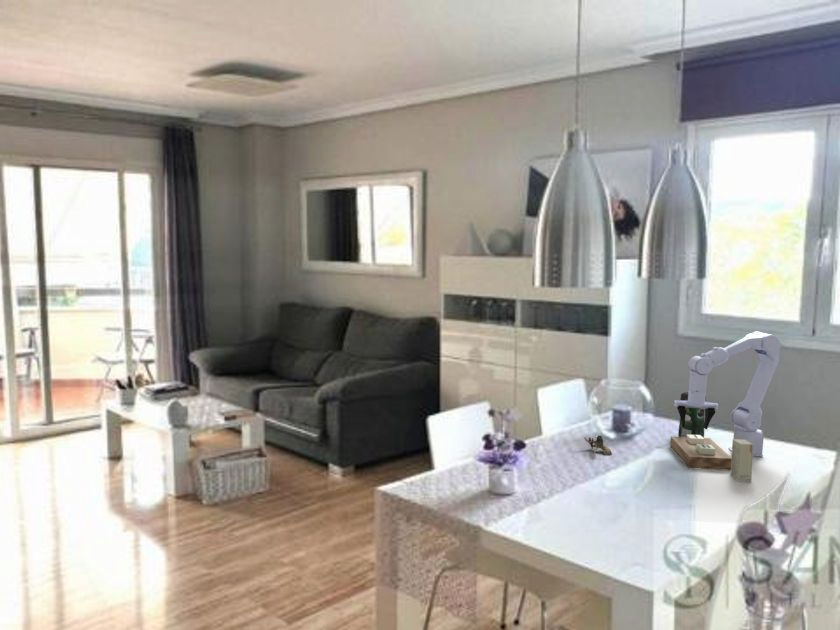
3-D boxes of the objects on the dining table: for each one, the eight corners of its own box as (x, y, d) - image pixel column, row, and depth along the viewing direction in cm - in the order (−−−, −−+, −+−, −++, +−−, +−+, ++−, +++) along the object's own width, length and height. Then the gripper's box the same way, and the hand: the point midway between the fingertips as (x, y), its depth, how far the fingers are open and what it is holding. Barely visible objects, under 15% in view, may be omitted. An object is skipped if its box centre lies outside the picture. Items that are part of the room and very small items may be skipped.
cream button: (699, 443, 255) (700, 434, 255) (703, 447, 251) (704, 438, 250) (686, 443, 256) (686, 433, 255) (689, 447, 251) (690, 437, 251)
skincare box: (751, 482, 224) (754, 444, 223) (738, 481, 224) (740, 444, 223) (743, 475, 230) (745, 438, 229) (729, 475, 230) (732, 438, 229)
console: (709, 448, 259) (709, 438, 258) (731, 470, 235) (732, 458, 235) (670, 446, 260) (670, 436, 260) (688, 468, 236) (689, 456, 236)
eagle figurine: (580, 448, 253) (600, 449, 245) (586, 429, 255) (606, 431, 248) (593, 456, 256) (613, 458, 249) (599, 438, 259) (619, 440, 251)
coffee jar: (688, 434, 278) (692, 387, 276) (707, 439, 272) (710, 391, 270) (674, 437, 272) (677, 390, 270) (692, 442, 266) (695, 394, 264)
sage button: (710, 454, 244) (711, 444, 243) (714, 458, 239) (715, 448, 238) (695, 453, 244) (696, 443, 244) (700, 457, 239) (700, 447, 239)
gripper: (678, 391, 247) (675, 429, 249) (721, 394, 245) (718, 432, 246) (674, 387, 254) (671, 423, 256) (716, 389, 252) (713, 427, 253)
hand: (694, 427), depth 251 cm, fingers open, 7 cm apart
